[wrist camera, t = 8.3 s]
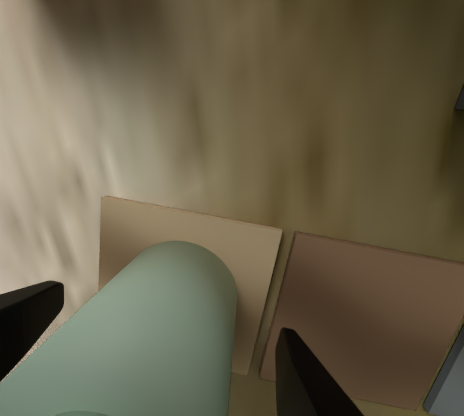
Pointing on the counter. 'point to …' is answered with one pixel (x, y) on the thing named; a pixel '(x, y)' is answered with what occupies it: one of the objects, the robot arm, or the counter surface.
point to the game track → (321, 301)
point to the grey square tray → (460, 101)
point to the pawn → (138, 344)
